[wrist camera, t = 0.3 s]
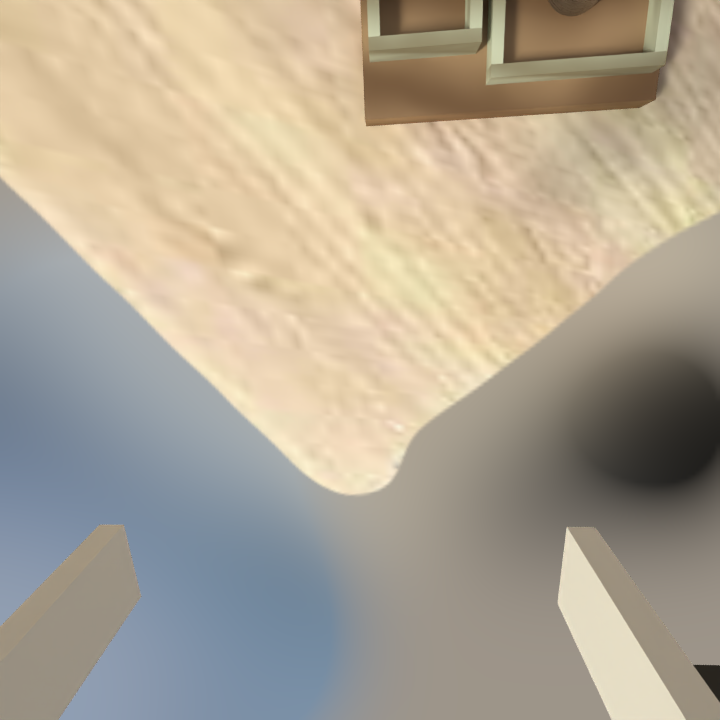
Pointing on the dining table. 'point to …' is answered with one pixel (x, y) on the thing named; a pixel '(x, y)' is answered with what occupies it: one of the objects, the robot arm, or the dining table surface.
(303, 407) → the dining table surface
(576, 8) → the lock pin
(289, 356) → the dining table surface
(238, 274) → the dining table surface
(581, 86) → the dock board
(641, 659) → the robot arm
